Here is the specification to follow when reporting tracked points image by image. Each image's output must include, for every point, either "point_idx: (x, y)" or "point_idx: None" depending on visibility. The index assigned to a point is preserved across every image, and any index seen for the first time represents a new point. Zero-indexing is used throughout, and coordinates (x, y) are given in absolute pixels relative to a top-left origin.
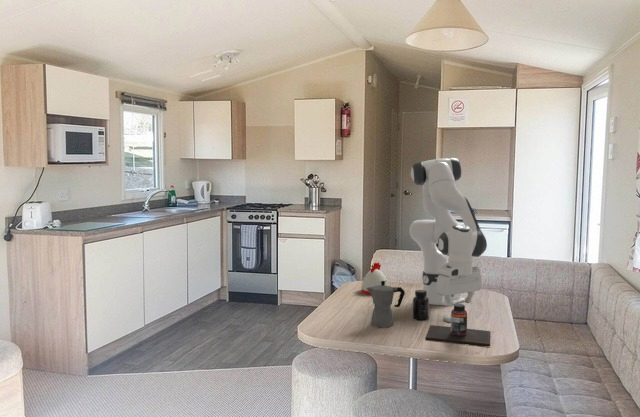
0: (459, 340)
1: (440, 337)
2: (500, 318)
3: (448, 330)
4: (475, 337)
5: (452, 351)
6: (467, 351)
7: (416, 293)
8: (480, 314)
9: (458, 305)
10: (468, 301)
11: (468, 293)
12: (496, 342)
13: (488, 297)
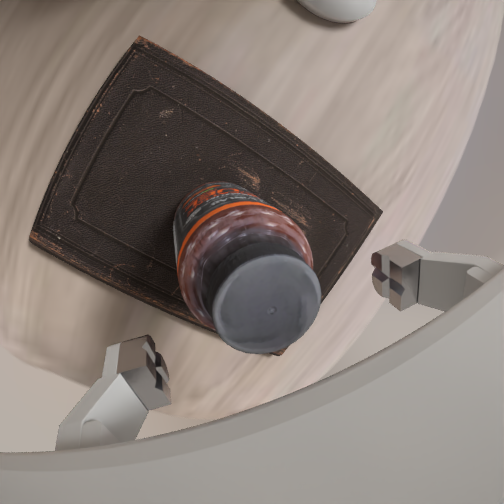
0: (174, 312)
1: (94, 261)
2: (476, 72)
3: (190, 152)
4: None
5: None
6: (167, 383)
7: None
8: (446, 5)
9: (250, 327)
10: (386, 294)
11: (469, 269)
12: (330, 309)
13: None
